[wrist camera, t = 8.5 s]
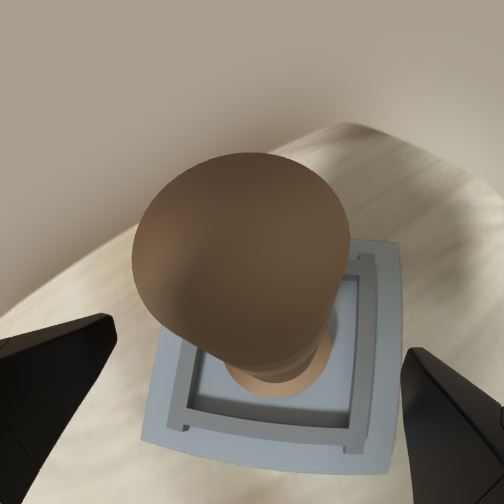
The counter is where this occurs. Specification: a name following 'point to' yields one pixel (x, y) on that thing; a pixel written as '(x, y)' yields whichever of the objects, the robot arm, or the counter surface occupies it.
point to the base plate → (301, 404)
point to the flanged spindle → (246, 266)
